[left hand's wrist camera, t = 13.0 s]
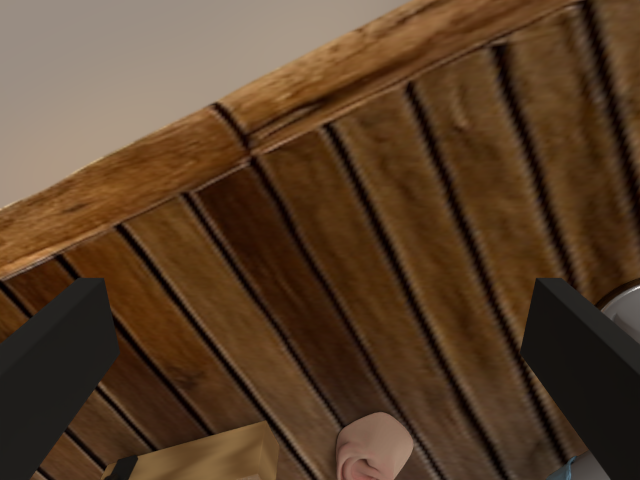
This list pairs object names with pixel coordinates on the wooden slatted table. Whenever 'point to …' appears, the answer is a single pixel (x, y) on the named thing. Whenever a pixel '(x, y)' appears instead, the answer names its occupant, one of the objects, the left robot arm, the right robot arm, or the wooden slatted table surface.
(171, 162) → the wooden slatted table surface
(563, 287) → the left robot arm
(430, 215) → the wooden slatted table surface
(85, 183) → the wooden slatted table surface
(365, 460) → the anatomical model
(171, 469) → the bar
